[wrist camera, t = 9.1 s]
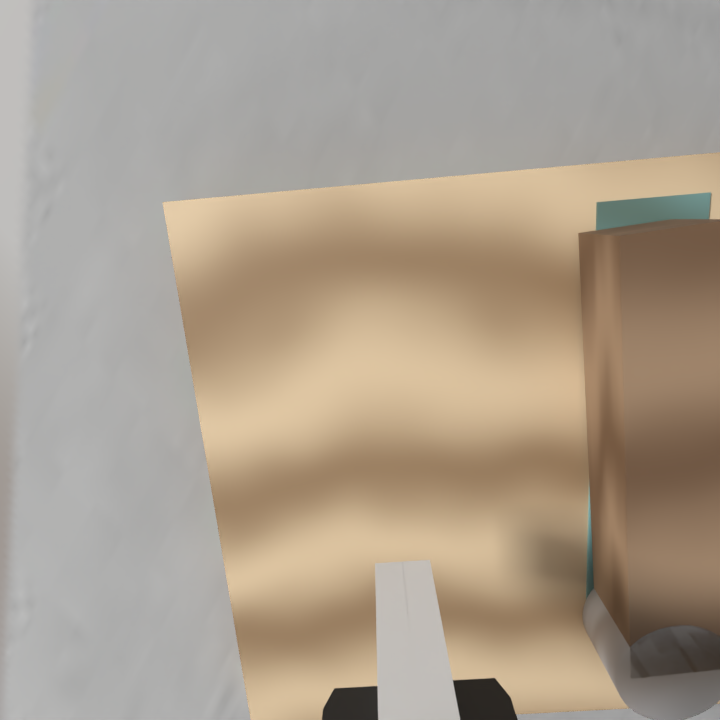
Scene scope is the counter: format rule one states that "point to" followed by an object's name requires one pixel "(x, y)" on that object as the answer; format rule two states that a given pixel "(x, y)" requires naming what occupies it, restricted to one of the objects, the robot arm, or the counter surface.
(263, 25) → the counter surface
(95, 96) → the counter surface
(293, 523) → the wooden flat board
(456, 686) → the robot arm
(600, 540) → the hinged leg
